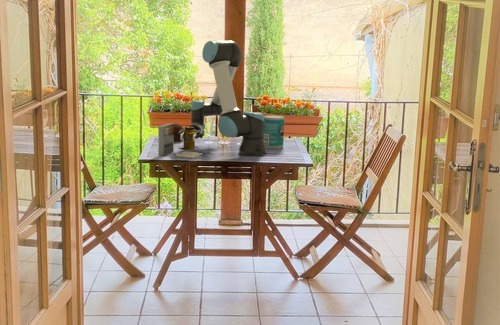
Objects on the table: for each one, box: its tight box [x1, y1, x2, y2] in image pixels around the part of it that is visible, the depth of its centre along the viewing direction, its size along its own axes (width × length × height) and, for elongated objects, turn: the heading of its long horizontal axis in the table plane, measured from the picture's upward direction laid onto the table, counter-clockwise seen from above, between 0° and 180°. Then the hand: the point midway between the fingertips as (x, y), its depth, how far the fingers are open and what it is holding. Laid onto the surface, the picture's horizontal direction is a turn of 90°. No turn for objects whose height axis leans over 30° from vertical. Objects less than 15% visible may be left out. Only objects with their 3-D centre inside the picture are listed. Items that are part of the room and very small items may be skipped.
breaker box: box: [158, 122, 175, 157], centre depth 391 cm, size 4×12×16 cm, turn 160°
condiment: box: [177, 125, 199, 152], centre depth 390 cm, size 7×8×12 cm
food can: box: [263, 114, 285, 150], centre depth 420 cm, size 12×12×18 cm
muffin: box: [173, 123, 185, 143], centre depth 433 cm, size 12×11×10 cm
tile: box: [175, 150, 203, 159], centre depth 392 cm, size 11×11×1 cm
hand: (187, 137), depth 385 cm, fingers closed on condiment, 6 cm apart
